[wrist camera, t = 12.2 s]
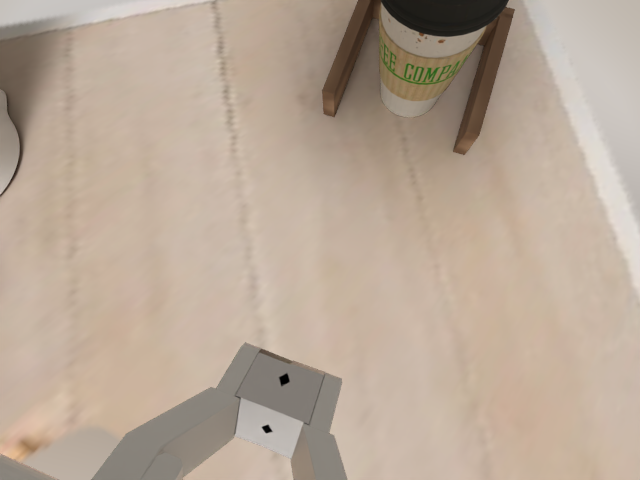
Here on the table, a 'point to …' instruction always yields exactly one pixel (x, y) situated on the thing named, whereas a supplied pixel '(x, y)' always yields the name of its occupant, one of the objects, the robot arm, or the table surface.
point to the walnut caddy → (482, 83)
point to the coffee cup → (427, 47)
